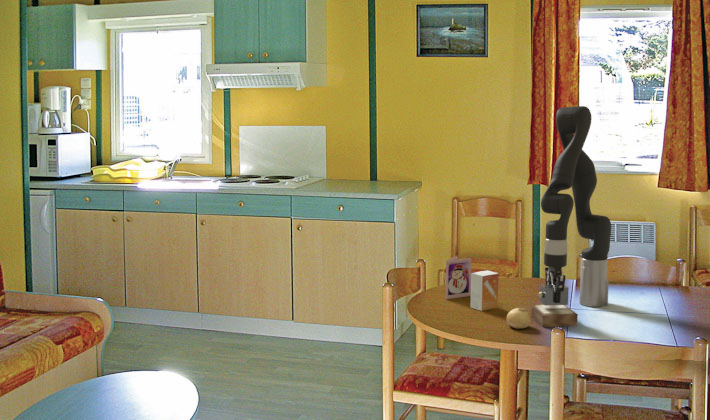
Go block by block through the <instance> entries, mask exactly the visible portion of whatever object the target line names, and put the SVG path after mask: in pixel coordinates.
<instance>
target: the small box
mask: <svg viewBox="0 0 710 420" xmlns="http://www.w3.org/2000/svg"><path fill="white" fill-rule="evenodd" d="M499 274H500V273H499V272H495V271H492V270H488V269H487V270H482V271H480V270H479V271H476V272H471V296H470V308H471V309H475V310H477V311H481V312H483V311H488V310H493V309H498V307H499V305H498V303H499V279H500V278H499V277H500V275H499Z"/></svg>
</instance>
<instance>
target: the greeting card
mask: <svg viewBox="0 0 710 420" xmlns="http://www.w3.org/2000/svg"><path fill="white" fill-rule="evenodd" d="M471 273H472V257H467V258H459V259H458V255H455V256H453V257H450V258H449V259H446V260H445V300H451V299H458V298H465V297H471Z"/></svg>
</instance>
